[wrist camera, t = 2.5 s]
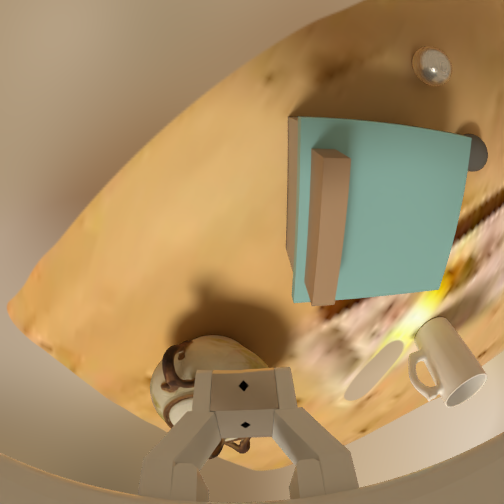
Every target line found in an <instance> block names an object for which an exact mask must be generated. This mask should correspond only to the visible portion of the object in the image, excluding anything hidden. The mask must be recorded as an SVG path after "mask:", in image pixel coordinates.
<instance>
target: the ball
mask: <svg viewBox="0 0 504 504" xmlns="http://www.w3.org/2000/svg"><path fill="white" fill-rule="evenodd" d="M464 136H467V137H470V138H472V140H471V149H470V157H469V165H468V171H478V170H480V169H482V168H483V167H484V165H485V164H486V162H487V158H488V152H487V148H486V145H485V144H484V142H483V141H482V140H481V139H480V138H479V137H478V136H476V135H473V134H465V135H464Z"/></svg>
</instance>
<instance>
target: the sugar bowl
mask: <svg viewBox="0 0 504 504" xmlns="http://www.w3.org/2000/svg"><path fill="white" fill-rule="evenodd" d="M261 368H269V367H268V365H267V364H266V363H265V362H264V361H263V360H262V359H261V358H260V357H258V356H257V355H256V354H255V353H253V352H252V351H250V350H249V349H247V348H245V347H244V346H242V345H241V344H240V343H238V342H237V341H235V340H233V339H231V338H228V337H225V336H220V335H207V336H201V337H198V338H196V339H193V340H192V341H191V340H190V341H185V342H183V343H181V344H179V345H174V346H171V347H170V348H168V349H167V350H166V352H165V354H164V355H163V359H162V360H161V362H160V363H159V364H158V366H157V367H156V369H155V371H154V373H153V375H152V378H151V383H150V394H151V399H152V402H153V405H154V407H155V409H156V411H157V413H158V414H159V415H160V417H161V418H162V419H163V420H164V421H165V422H166V423H167V424H168V426H169V427H170V428H172V427H173V426H174V425H175V424H176V423H177V422H178V421H179V420H180V419H181V418H182V417H183V415H184V414H185V413H186V412H187V411H192V404H193V394H194V385H195V375H196V372H197V370H244V369H261ZM250 438H251V437H245V438H221V441H220V442H219V444H218V445H217V447H216V448H215V450H214V451H213V453H212V454H211V455H210V457H209V458H208V459H212V458H214V457H217V456H218V455H219V453H220V452H221V450H222V448H223V445H224V444H225V445H228V446H230V447H232V448H233V449H235V450H236V451H238V452H239V453H246V452H247V451H248V450H249V448H250ZM238 440H241V442H240V445H237V444H236V443H234V441H238Z"/></svg>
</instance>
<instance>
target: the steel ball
mask: <svg viewBox="0 0 504 504" xmlns="http://www.w3.org/2000/svg"><path fill="white" fill-rule="evenodd" d="M412 67H413V70H414V72H415V74H416V76H417V77H418V78H419V79H420V80H421V81H422V82H424V83H426V84H428V85H431V86H440V85H443V84H445V83H446V82H447V81H448V80H449V79H450V77H451V74H452V65H451V62H450V60H449V58H448V57H447V55H446V54H445V53H444V52H443V51H441V50H440V49H438V48H435V47H431V46H425V47H422V48H420V49H418V50H417V51H416V52H415V54H414V55H413V58H412Z"/></svg>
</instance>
